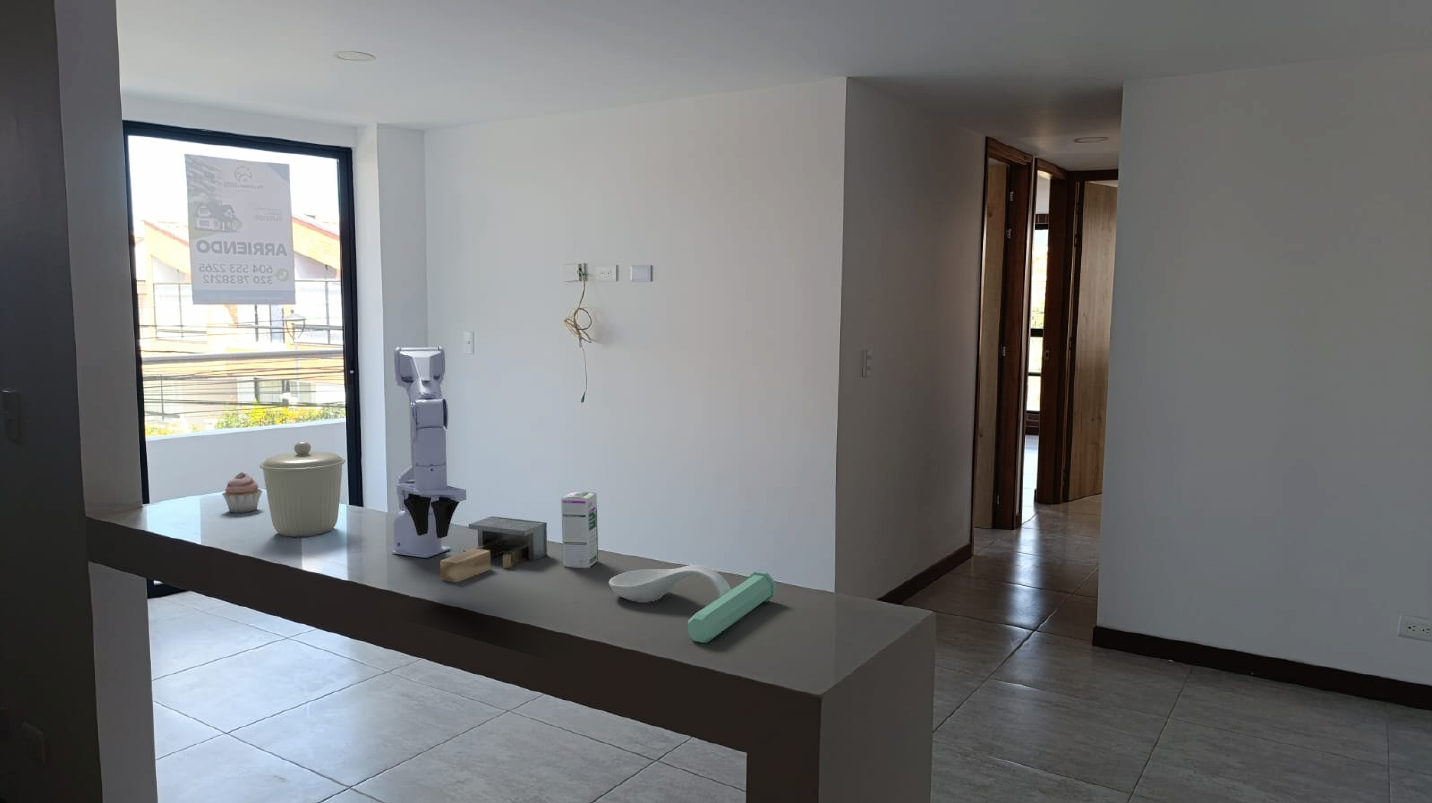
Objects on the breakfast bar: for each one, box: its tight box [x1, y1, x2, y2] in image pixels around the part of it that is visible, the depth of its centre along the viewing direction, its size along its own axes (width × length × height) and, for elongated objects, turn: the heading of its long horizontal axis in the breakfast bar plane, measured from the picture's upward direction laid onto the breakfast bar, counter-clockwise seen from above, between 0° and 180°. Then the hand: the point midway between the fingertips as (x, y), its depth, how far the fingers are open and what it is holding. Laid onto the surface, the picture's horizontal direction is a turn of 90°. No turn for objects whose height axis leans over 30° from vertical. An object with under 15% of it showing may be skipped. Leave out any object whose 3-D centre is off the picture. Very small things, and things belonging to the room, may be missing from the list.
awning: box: [462, 516, 548, 569], centre depth 197 cm, size 14×12×7 cm
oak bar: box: [439, 548, 492, 583], centre depth 185 cm, size 4×10×4 cm, turn 155°
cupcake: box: [221, 471, 263, 514], centre depth 240 cm, size 9×9×10 cm
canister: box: [259, 441, 346, 538], centre depth 218 cm, size 18×18×21 cm
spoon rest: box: [608, 564, 732, 603], centre depth 169 cm, size 24×12×7 cm, turn 65°
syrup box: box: [560, 491, 599, 569], centre depth 193 cm, size 6×6×14 cm
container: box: [687, 570, 776, 644], centre depth 159 cm, size 6×6×25 cm
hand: (432, 535), depth 176 cm, fingers open, 4 cm apart
